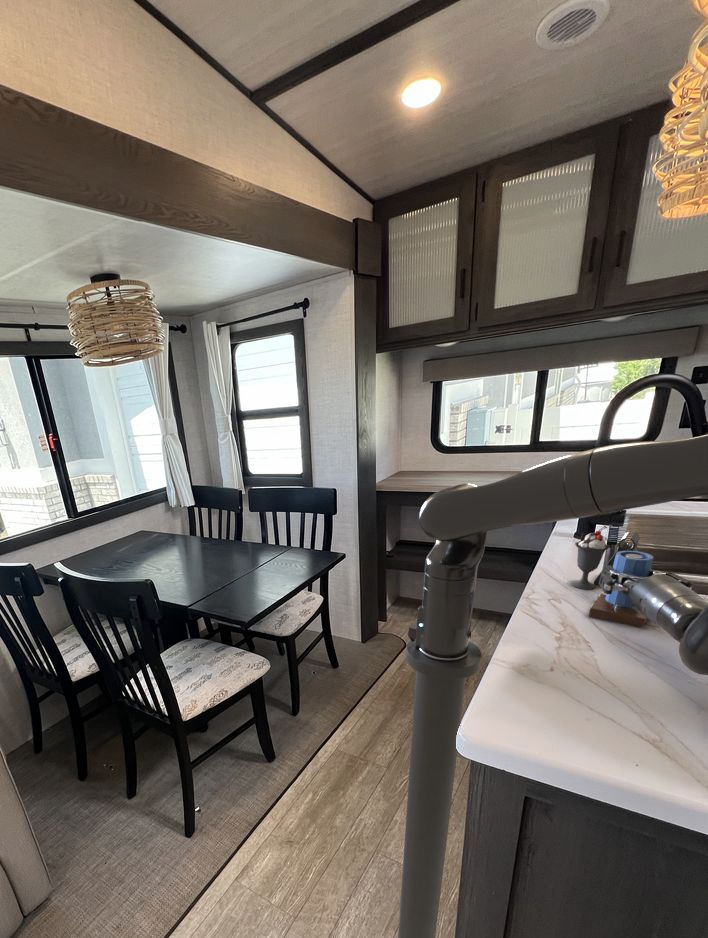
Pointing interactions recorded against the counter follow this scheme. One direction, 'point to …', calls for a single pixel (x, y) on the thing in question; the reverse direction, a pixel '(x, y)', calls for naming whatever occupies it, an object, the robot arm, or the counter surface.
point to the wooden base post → (617, 609)
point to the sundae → (589, 556)
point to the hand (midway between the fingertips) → (624, 569)
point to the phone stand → (622, 547)
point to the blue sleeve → (633, 567)
